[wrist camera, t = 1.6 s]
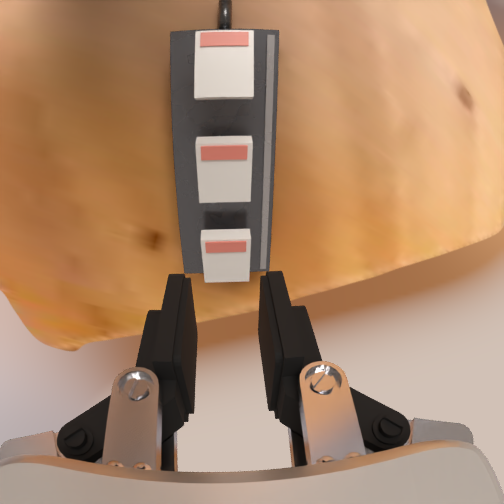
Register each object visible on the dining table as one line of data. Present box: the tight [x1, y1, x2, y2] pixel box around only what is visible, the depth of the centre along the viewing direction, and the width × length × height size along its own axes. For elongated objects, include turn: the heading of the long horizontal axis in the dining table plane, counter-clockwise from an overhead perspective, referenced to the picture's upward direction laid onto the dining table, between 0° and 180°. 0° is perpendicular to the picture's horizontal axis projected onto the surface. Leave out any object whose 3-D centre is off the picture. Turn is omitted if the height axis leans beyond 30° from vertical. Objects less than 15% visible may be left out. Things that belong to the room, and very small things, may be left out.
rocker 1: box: [194, 30, 254, 100], centre depth 21 cm, size 6×4×2 cm
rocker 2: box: [195, 136, 253, 203], centre depth 26 cm, size 6×4×2 cm
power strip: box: [170, 0, 279, 273], centre depth 28 cm, size 28×9×4 cm, turn 179°
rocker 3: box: [201, 229, 251, 283], centre depth 30 cm, size 6×4×2 cm
